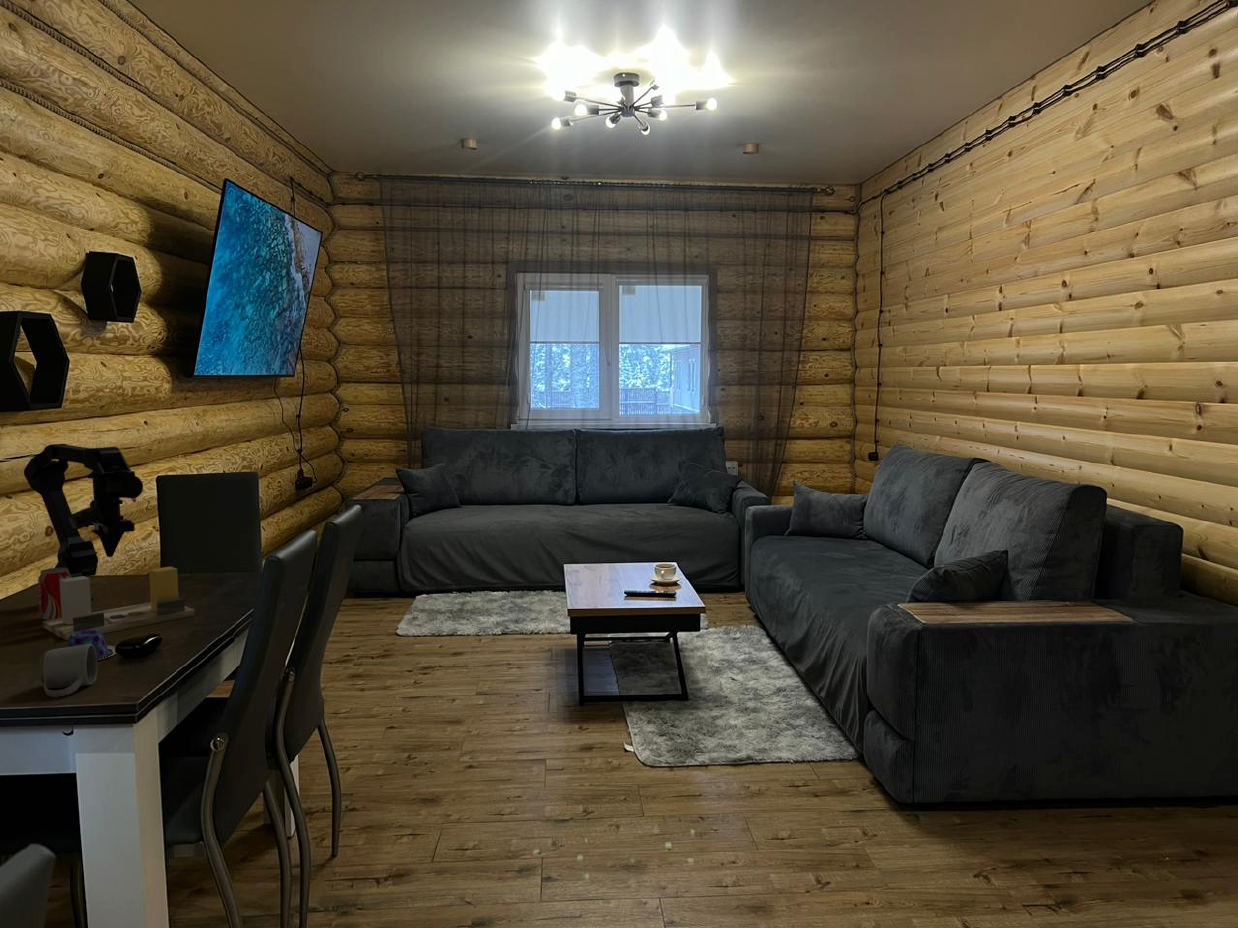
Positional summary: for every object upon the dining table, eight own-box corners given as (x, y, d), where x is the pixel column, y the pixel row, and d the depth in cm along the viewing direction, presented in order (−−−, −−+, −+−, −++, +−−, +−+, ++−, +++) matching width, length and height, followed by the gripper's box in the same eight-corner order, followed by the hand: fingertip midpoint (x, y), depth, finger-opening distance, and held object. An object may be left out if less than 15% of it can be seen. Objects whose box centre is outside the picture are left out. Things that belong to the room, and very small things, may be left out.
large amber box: (151, 609, 213) (149, 569, 212) (172, 605, 217) (170, 566, 216) (157, 612, 211) (155, 571, 210) (179, 608, 215) (177, 568, 214)
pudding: (56, 670, 174) (55, 644, 174) (49, 655, 184) (48, 631, 183) (124, 658, 182) (123, 634, 181) (114, 645, 191) (113, 622, 191)
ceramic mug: (50, 681, 167) (48, 642, 166) (99, 677, 169) (96, 638, 169) (33, 701, 157) (30, 660, 156) (84, 696, 159) (82, 655, 159)
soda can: (57, 622, 208) (54, 573, 207) (32, 621, 210) (29, 572, 209) (81, 615, 215) (78, 567, 214) (57, 613, 217) (54, 566, 216)
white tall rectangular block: (61, 621, 203) (59, 579, 202) (85, 617, 206) (83, 575, 205) (67, 624, 200) (65, 581, 199) (91, 620, 204) (89, 578, 203)
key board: (43, 627, 204) (41, 608, 204) (167, 604, 225) (166, 587, 225) (66, 640, 194) (65, 620, 193) (194, 615, 215) (193, 597, 214)
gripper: (58, 496, 221) (61, 556, 222) (84, 502, 209) (87, 566, 210) (106, 492, 229) (109, 550, 231) (133, 498, 217) (137, 559, 219)
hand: (109, 556), depth 222 cm, fingers closed
